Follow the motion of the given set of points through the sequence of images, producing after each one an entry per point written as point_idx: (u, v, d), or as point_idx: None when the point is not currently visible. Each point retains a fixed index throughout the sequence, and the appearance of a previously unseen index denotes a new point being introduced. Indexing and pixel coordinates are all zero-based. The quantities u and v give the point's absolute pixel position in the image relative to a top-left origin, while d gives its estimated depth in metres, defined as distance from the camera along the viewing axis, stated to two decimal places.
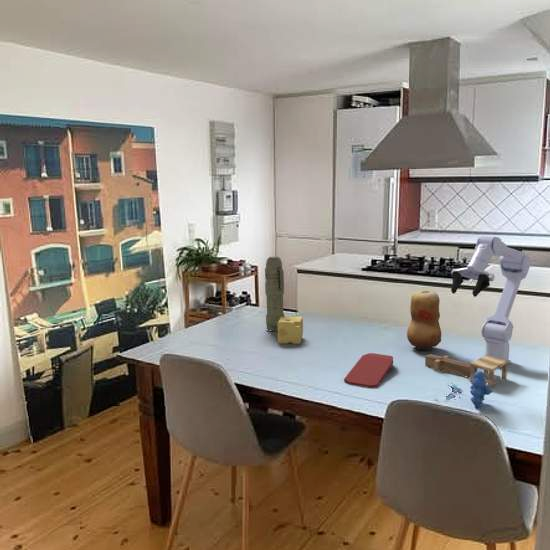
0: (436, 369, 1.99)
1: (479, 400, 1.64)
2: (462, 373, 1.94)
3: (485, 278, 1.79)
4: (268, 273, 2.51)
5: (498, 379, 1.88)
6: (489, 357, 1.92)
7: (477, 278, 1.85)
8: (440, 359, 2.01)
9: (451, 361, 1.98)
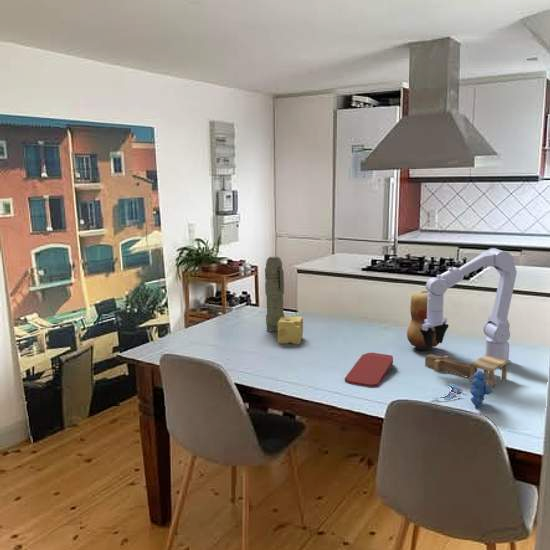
0: (436, 369, 1.99)
1: (479, 400, 1.64)
2: (462, 373, 1.94)
3: (422, 331, 1.99)
4: (268, 273, 2.51)
5: (498, 379, 1.88)
6: (489, 357, 1.92)
7: None
8: (440, 359, 2.01)
9: (451, 361, 1.98)
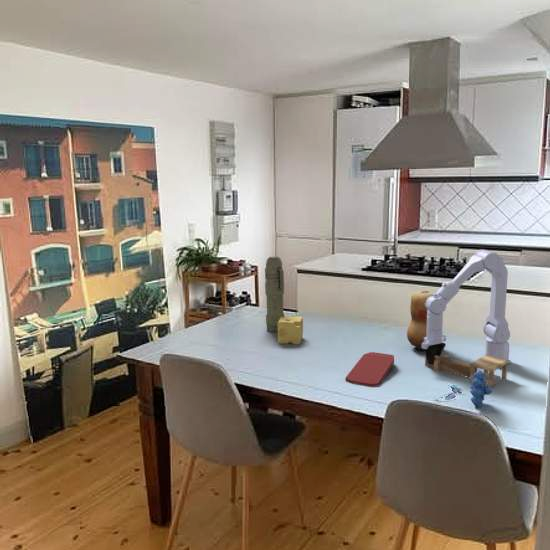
0: (436, 369, 1.99)
1: (479, 400, 1.64)
2: (462, 373, 1.94)
3: (424, 348, 2.02)
4: (268, 273, 2.51)
5: (498, 379, 1.88)
6: (489, 357, 1.92)
7: None
8: (440, 359, 2.01)
9: (451, 361, 1.98)
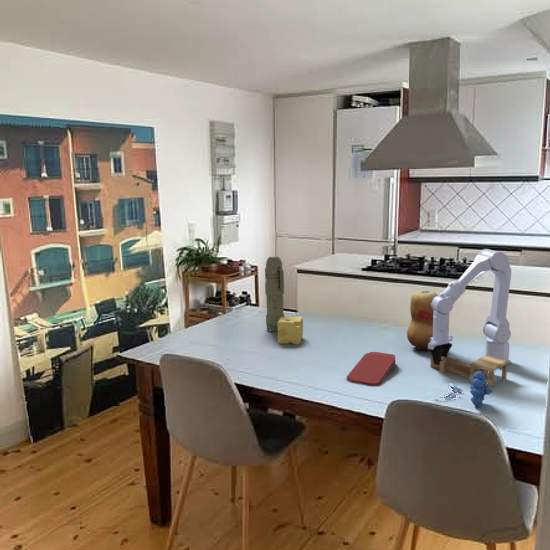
0: (442, 370, 1.97)
1: (479, 400, 1.64)
2: (468, 374, 1.92)
3: (430, 349, 2.00)
4: (268, 273, 2.51)
5: (499, 379, 1.88)
6: (489, 357, 1.92)
7: None
8: (446, 360, 1.99)
9: (457, 362, 1.96)
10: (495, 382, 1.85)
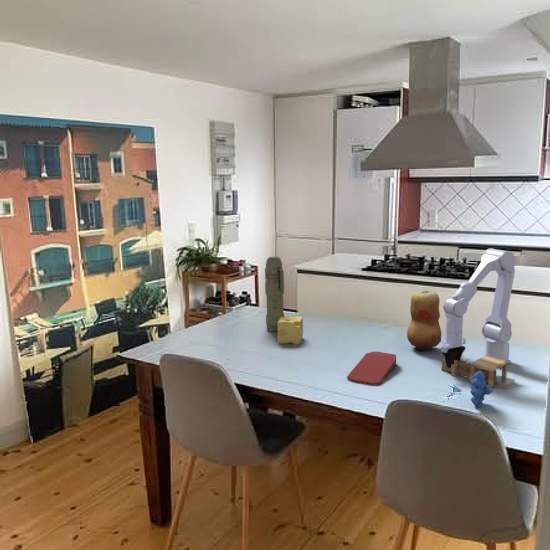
0: (453, 373, 1.94)
1: (479, 400, 1.64)
2: None
3: (443, 352, 1.96)
4: (268, 273, 2.51)
5: (512, 382, 1.84)
6: (489, 357, 1.92)
7: None
8: (457, 363, 1.96)
9: (469, 365, 1.93)
10: (508, 385, 1.82)
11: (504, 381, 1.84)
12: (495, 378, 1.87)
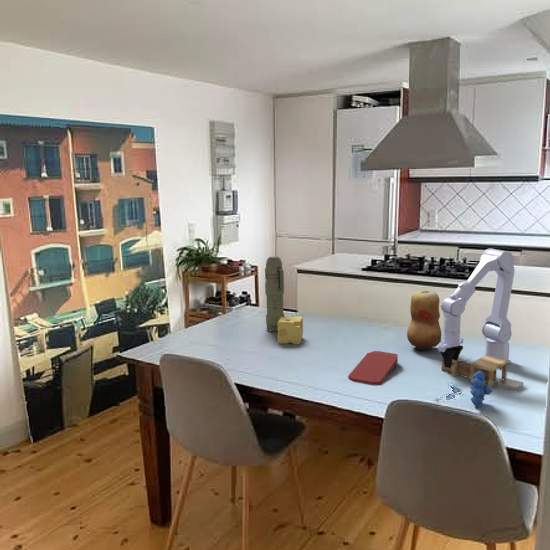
0: (453, 373, 1.94)
1: (479, 400, 1.64)
2: None
3: (441, 351, 1.97)
4: (268, 273, 2.51)
5: (521, 385, 1.82)
6: (489, 357, 1.92)
7: None
8: (457, 363, 1.96)
9: (469, 365, 1.93)
10: (517, 388, 1.80)
11: (513, 384, 1.81)
12: (504, 381, 1.84)
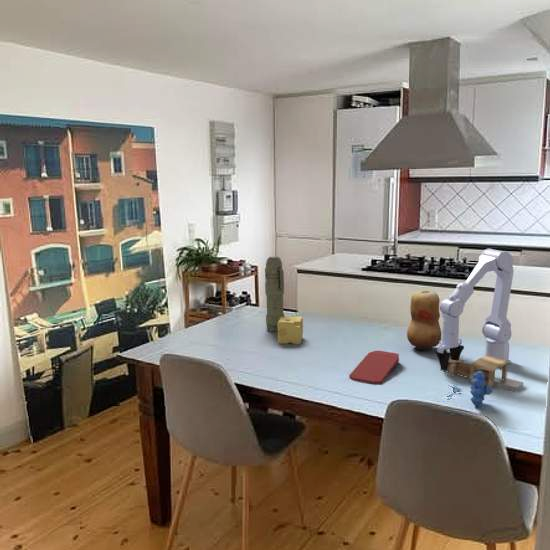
0: (452, 373, 1.94)
1: (479, 400, 1.64)
2: None
3: (437, 353, 1.96)
4: (268, 273, 2.51)
5: (521, 385, 1.82)
6: (489, 357, 1.92)
7: None
8: (456, 363, 1.96)
9: (467, 365, 1.93)
10: (517, 388, 1.80)
11: (513, 384, 1.81)
12: (504, 381, 1.84)
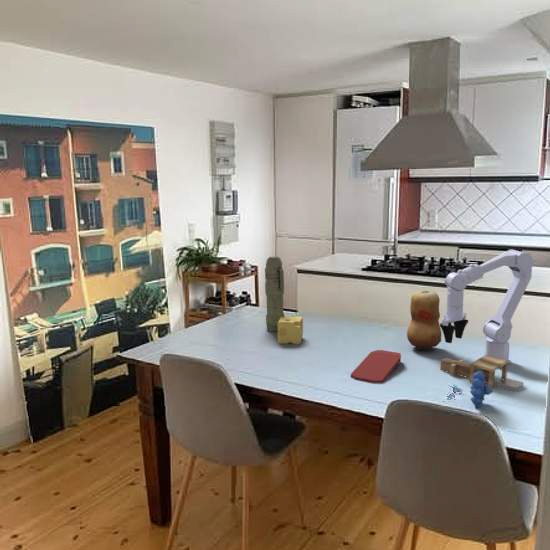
0: (452, 374, 1.94)
1: (479, 400, 1.64)
2: None
3: (442, 326, 1.98)
4: (268, 273, 2.51)
5: (521, 385, 1.82)
6: (489, 357, 1.92)
7: None
8: (456, 363, 1.96)
9: (467, 365, 1.93)
10: (517, 388, 1.80)
11: (513, 384, 1.81)
12: (504, 381, 1.84)
